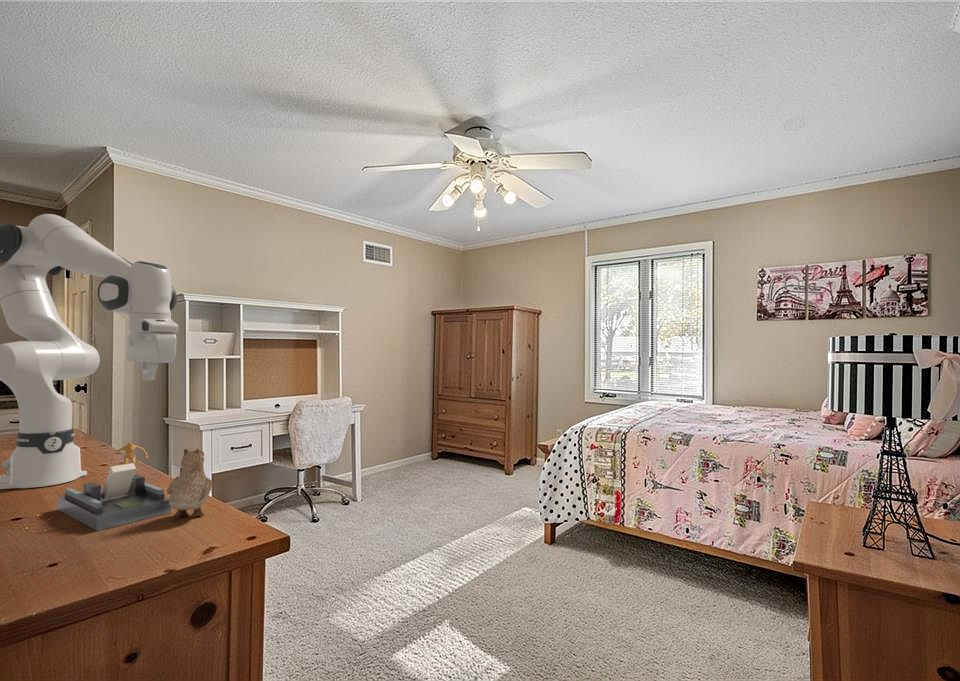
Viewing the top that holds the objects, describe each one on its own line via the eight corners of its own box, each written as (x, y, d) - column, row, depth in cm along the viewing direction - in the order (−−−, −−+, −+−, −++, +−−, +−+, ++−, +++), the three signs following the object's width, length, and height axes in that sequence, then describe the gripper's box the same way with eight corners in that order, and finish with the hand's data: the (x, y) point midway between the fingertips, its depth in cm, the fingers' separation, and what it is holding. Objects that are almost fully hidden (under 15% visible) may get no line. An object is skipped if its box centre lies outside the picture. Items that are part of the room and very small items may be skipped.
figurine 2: (221, 510, 114) (222, 445, 114) (197, 525, 104) (198, 454, 104) (182, 509, 114) (184, 444, 114) (154, 524, 104) (156, 453, 104)
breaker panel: (58, 509, 113) (58, 479, 113) (128, 495, 125) (128, 467, 125) (96, 531, 100) (97, 496, 100) (171, 512, 112) (171, 481, 112)
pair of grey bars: (64, 497, 112) (64, 488, 113) (129, 484, 123) (129, 476, 123) (97, 513, 102) (97, 503, 102) (164, 498, 112) (164, 489, 112)
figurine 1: (109, 492, 126) (110, 446, 127) (109, 487, 131) (110, 442, 131) (148, 487, 132) (149, 442, 132) (146, 482, 136) (147, 439, 136)
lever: (100, 495, 111) (109, 466, 108) (124, 490, 115) (134, 462, 112) (102, 501, 110) (112, 472, 108) (127, 496, 114) (137, 468, 112)
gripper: (119, 325, 128) (118, 378, 128) (153, 324, 116) (151, 382, 116) (146, 326, 133) (145, 377, 133) (182, 325, 121) (180, 381, 121)
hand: (148, 380), depth 124 cm, fingers closed
